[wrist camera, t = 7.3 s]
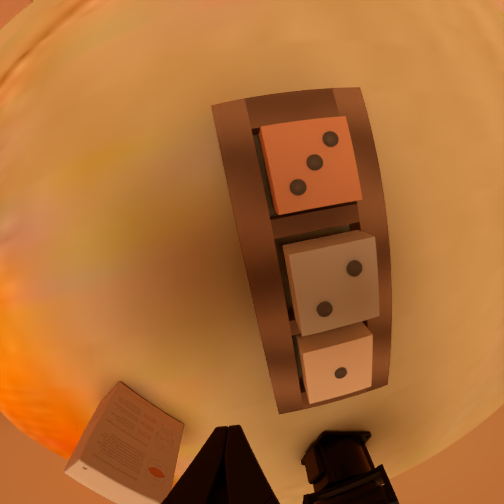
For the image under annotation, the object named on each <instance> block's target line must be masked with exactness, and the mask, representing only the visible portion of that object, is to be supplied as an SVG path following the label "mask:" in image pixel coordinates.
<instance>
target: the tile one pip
mask: <svg viewBox="0 0 504 504" xmlns="http://www.w3.org/2000/svg"><path fill="white" fill-rule="evenodd" d="M296 336H297V343H298V349H299V356H300V362H301V369H302V376H303V383H304V387H305V390H306V394H307V397H308V401H309V404H312V403H316V402H320V401H324V400H328V399H331V398H335V397H339V396H342V395H346V394H349V393H352V392H356V391H359V390H362V389H365V388H368V387H371V381H372V355H373V334H372V333H371V332H370V331H369V329H368V328H367V327H366V326H365V325H364V323H363V322H362V321H361V322H357V323H354V324H350V325H347V326H343V327H339V328H335V329H332V330H328V331H324V332H320V333H315V334H311V335H307V336H303V337H302V335H301V334H297V335H296Z"/></svg>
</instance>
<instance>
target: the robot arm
mask: <svg viewBox="0 0 504 504" xmlns="http://www.w3.org/2000/svg"><path fill="white" fill-rule="evenodd" d="M370 437H371V433H370V432H324V433H322V434H321V435H320V437H319V438H318V439H317V441H316V442H315V443H314V445H313V446H312V447H311V449H310V450H309V451H308V453H307V454H306V455H305V456H304V458H303V459H302V460H301V464H302V465H305V467H306V472H307V477H308V481H309V483H310V484H313V487H314V493H311V494H306V495H304V496H303V504H399V502H398V499H397V497H396V495H395V492H394V490H393V488H392V485H391V483H390V481H389V479H388V476H387V474H386V472H385V470H384V467H383V465H382V464H381V465H379V466H377V468H375V467H374V464H373V462H372V460H371V457H370V455H369V452H368V450H367V448H366V445H365V443H366V442H367V441H368V439H369V438H370ZM382 484H384V485H382ZM161 504H280V503H279V501H278V499H277V498H276V496H275V494H274V492H273V490H272V489H271V487H270V485H269V483H268V481H267V479H266V477H265V475H264V473H263V471H262V469H261V467H260V465H259V463H258V461H257V459H256V457H255V455H254V453H253V451H252V449H251V447H250V445H249V443H248V440H247V438H246V436H245V434H244V432H243V430H242V427H241V426H240V425H232V426H229V427H228V426H221V427H216V428H215V429H214V431H213V432H212V434H211V435H210V437H209V438H208V440H207V441H206V443H205V444H204V445H203V447H202V448H201V450H200V451H199V453H198V454H197V455H196V457H195V458H194V460H193V461H192V463H191V464H190V465H189V467H188V468H187V470H186V471H185V472H184V474H183V475H182V476H181V478H180V479H179V480H178V482H177V483H176V484H175V486H174V487H173V488H172V490H171V491H170V492H169V494H168V495H167V497H166V498H165V499H164V500H163V501H162V503H161Z"/></svg>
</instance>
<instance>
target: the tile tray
mask: <svg viewBox="0 0 504 504" xmlns="http://www.w3.org/2000/svg"><path fill="white" fill-rule="evenodd" d="M212 111H213V116H214V121H215V126H216V131H217V136H218V141H219V145H220V150H221V155H222V160H223V165H224V169H225V174H226V179H227V184H228V188H229V193H230V198H231V202H232V207H233V212H234V216H235V221H236V226H237V230H238V235H239V239H240V244H241V249H242V253H243V258H244V262H245V267H246V271H247V276H248V280H249V285H250V289H251V294H252V298H253V303H254V307H255V312H256V316H257V321H258V325H259V330H260V334H261V338H262V343H263V347H264V352H265V356H266V360H267V365H268V369H269V373H270V378H271V382H272V386H273V391H274V395H275V399H276V403H277V408H278V412H279V414H283V413H288V412H293V411H298V410H303V409H307V408H311V407H316V406H320V405H324V404H327V403H331V402H335V401H338V400H342V399H345V398H349V397H352V396H355V395H359V394H362V393H365V392H368V391H371V390H374V389H377V388H379V387H382V386H385V385H388V375H389V364H390V349H391V324H392V288H391V263H390V248H389V236H388V225H387V216H386V208H385V201H384V193H383V187H382V181H381V175H380V169H379V163H378V158H377V153H376V148H375V144H374V139H373V135H372V130H371V126H370V122H369V118H368V114H367V110H366V107H365V103H364V99H363V96H362V92H361V89H360V87H356V88H329V89H315V90H303V91H294V92H285V93H277V94H270V95H264V96H257V97H251V98H246V99H240V100H235V101H230V102H225V103H221V104H216V105H212ZM340 116H346V120H347V124H348V128H349V132H350V136H351V141H352V145H353V150H354V155H355V160H356V165H357V170H358V176H359V181H360V187H361V194H362V200H357V201H352V202H346V203H340V204H335V205H329V206H324V207H318V208H313V209H307V210H302V211H297V212H292V213H287V214H282V215H276V216H271V217H270V216H269V211H268V206H267V201H266V196H265V191H264V186H263V181H262V176H261V171H260V167H259V162H258V157H257V153H256V148H255V143H254V139H253V135H254V134H259V131H260V127H261V126H267V125H273V124H279V123H286V122H293V121H301V120H309V119H318V118H328V117H340ZM347 224H350V228H351V231H354V230H359V231H362V232H364V233H367V234H369V235H372V236H374V237H375V242H376V253H377V267H378V284H379V316H378V317H375V318H371V319H368V320H364V321H362V322H363V323H364V325H365V326H366V327H367V328H368V329H369V331H370V332H371V333H372V334H373V355H372V381H371V387H368V388H365V389H362V390H359V391H356V392H352V393H349V394H346V395H342V396H339V397H335V398H331V399H328V400H324V401H320V402H316V403H312V404H309V401H308V397H307V394H306V390H305V387H304V383H303V377H302V378H298V372H297V366H296V360H295V354H294V348H293V342H292V335H297V334H301V332H300V330H299V327H298V324H297V322H296V319H295V315H294V309H293V308H289V309H287V307H286V301H285V295H284V290H283V284H282V279H281V273H280V268H279V262H278V257H277V252H276V246H275V241H274V239H277V238H282V237H287V236H292V235H297V234H302V233H307V232H311V231H316V230H321V229H326V228H331V227H336V226H341V225H347Z"/></svg>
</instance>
